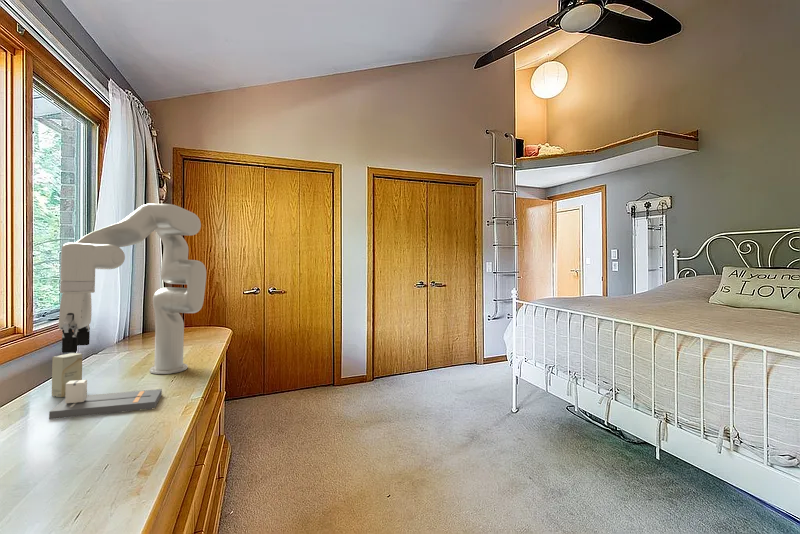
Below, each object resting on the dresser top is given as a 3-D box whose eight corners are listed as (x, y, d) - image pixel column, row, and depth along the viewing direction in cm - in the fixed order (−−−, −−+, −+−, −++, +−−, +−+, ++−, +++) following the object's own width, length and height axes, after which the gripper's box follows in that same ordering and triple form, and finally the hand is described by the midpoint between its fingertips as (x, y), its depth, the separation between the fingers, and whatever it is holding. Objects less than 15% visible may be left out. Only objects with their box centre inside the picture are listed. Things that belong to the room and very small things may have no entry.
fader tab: (69, 399, 114) (69, 380, 114) (86, 398, 115) (87, 379, 115) (65, 403, 111) (65, 384, 111) (83, 402, 112) (83, 382, 112)
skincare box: (62, 397, 122) (63, 357, 121) (50, 396, 122) (51, 356, 122) (82, 391, 128) (83, 353, 128) (71, 390, 129) (71, 352, 128)
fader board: (66, 403, 117) (66, 396, 117) (161, 395, 126) (161, 388, 126) (49, 419, 106) (49, 411, 106) (154, 408, 115) (154, 401, 115)
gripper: (72, 285, 119) (71, 343, 119) (47, 289, 103) (45, 356, 103) (103, 285, 122) (101, 342, 122) (83, 289, 106) (81, 354, 106)
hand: (76, 348), depth 112 cm, fingers open, 9 cm apart
